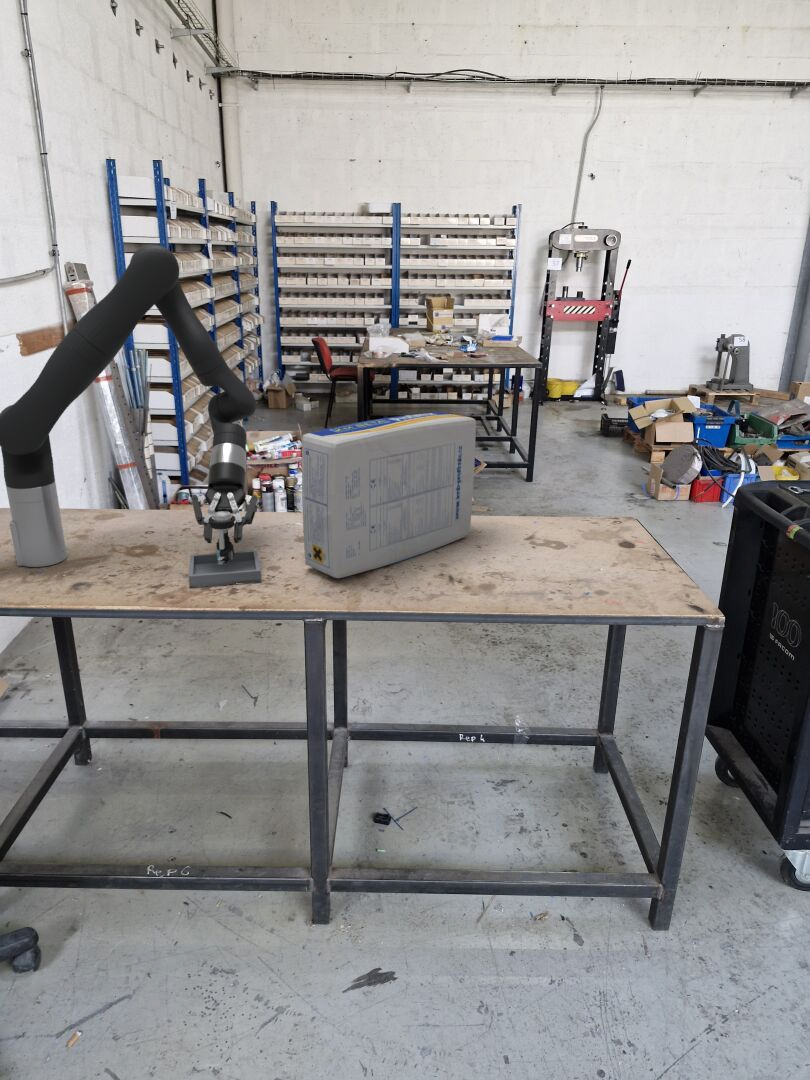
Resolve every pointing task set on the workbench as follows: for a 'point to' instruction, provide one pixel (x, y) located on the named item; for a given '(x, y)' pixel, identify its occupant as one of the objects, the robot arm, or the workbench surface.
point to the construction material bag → (386, 490)
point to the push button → (223, 535)
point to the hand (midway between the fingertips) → (222, 541)
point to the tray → (224, 569)
